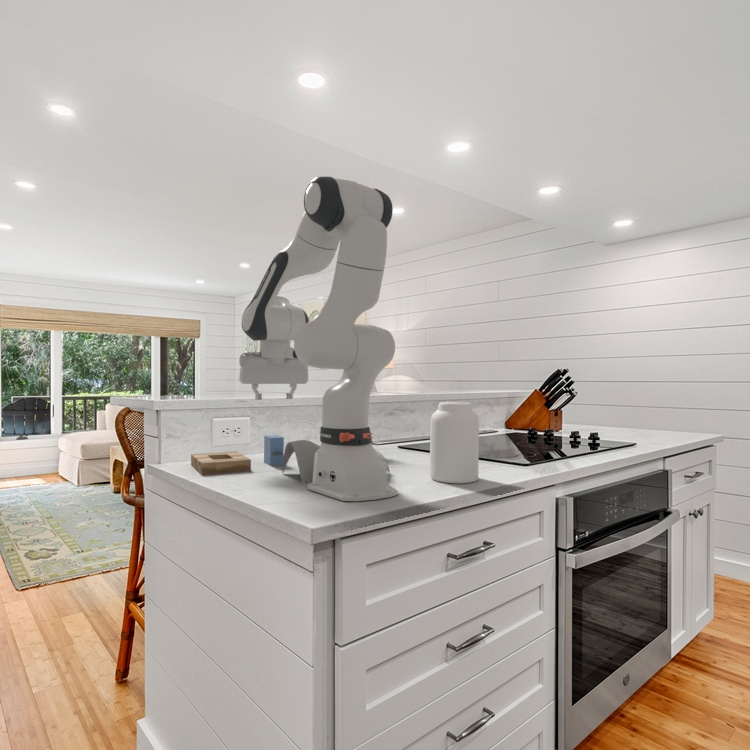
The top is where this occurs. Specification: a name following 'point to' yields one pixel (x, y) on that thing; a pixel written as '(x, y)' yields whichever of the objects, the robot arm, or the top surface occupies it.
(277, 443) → the block
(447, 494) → the top surface
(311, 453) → the sculpture
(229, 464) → the wooden base block
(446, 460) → the white lidded jar
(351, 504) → the top surface
